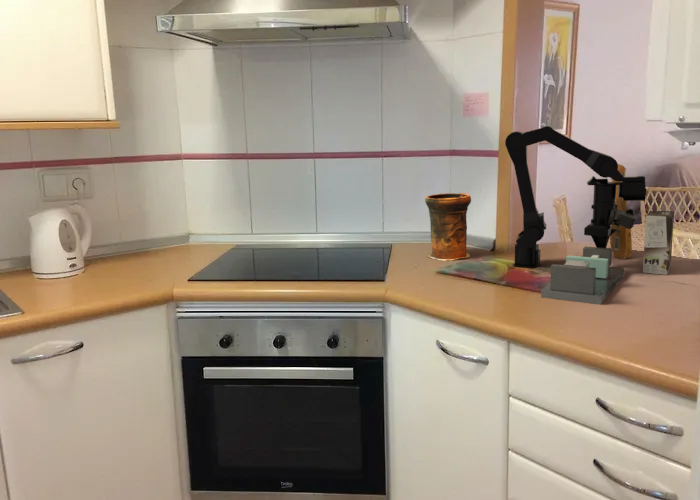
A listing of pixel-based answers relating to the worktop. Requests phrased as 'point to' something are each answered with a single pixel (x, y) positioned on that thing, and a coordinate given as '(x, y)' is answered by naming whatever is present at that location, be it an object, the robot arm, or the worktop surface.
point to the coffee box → (658, 242)
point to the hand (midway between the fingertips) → (601, 255)
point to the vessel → (448, 225)
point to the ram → (595, 259)
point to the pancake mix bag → (621, 228)
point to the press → (580, 283)
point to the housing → (577, 263)
